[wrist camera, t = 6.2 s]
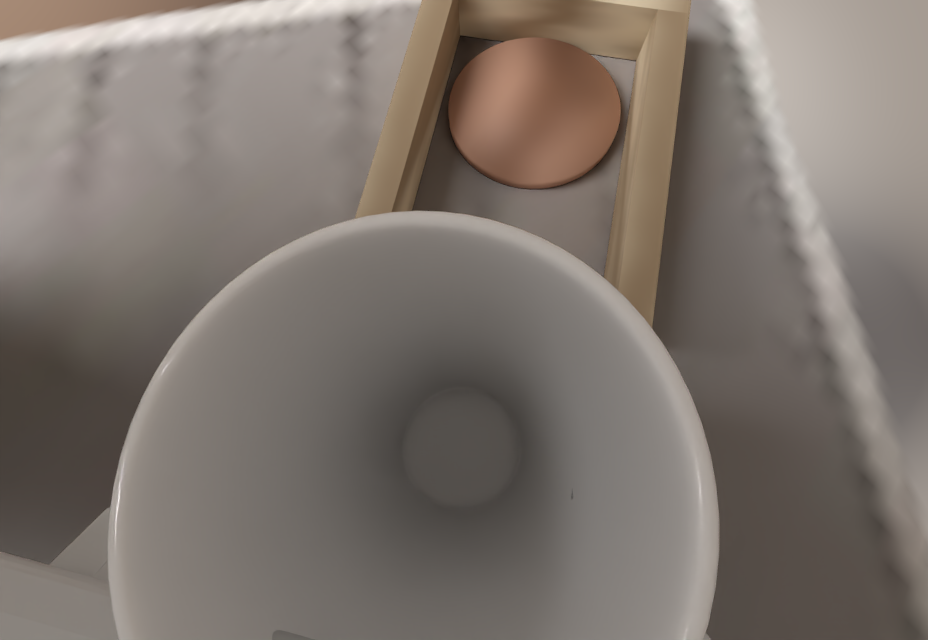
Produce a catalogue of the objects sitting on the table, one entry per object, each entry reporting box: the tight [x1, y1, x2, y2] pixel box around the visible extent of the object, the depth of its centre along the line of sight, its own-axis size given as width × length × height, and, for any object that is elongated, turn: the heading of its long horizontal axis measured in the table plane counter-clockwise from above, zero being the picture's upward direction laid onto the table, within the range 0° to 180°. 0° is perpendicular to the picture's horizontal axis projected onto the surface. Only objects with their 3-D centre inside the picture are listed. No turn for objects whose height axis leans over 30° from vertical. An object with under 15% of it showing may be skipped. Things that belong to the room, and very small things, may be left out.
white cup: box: [107, 211, 719, 640], centre depth 12 cm, size 7×7×15 cm
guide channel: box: [355, 0, 691, 328], centre depth 21 cm, size 13×18×3 cm
